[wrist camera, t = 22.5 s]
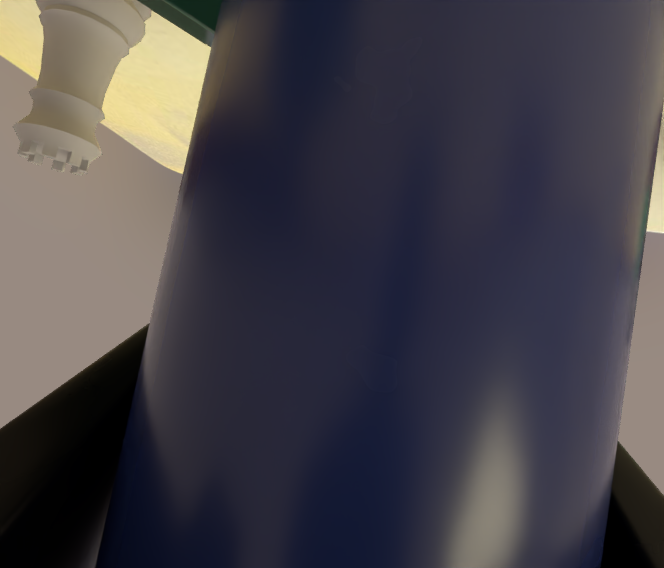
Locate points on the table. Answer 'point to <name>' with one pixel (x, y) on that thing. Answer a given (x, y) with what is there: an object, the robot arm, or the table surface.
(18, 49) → the table surface
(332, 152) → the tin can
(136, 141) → the table surface
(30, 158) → the rook chess piece
